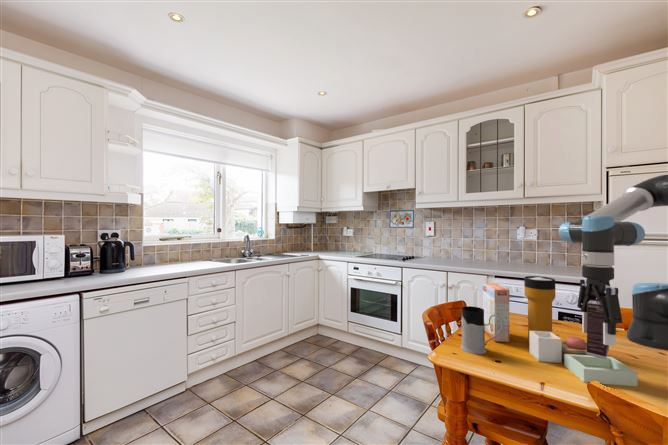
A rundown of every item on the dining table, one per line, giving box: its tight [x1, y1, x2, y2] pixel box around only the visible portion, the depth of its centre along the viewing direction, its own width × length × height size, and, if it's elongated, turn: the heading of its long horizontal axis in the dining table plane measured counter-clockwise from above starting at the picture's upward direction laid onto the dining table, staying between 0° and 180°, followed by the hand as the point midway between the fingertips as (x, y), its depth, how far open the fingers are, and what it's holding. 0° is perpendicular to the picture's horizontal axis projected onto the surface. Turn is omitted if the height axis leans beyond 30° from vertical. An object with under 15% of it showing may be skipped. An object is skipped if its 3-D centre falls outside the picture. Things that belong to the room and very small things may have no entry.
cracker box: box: [482, 282, 510, 343], centre depth 128 cm, size 14×6×21 cm, turn 171°
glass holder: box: [460, 305, 503, 355], centre depth 114 cm, size 9×14×15 cm, turn 67°
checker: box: [561, 340, 587, 364], centre depth 106 cm, size 12×10×4 cm
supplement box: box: [586, 298, 610, 359], centre depth 95 cm, size 9×5×16 cm, turn 135°
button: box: [566, 336, 586, 350], centre depth 106 cm, size 5×5×3 cm
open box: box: [528, 331, 563, 364], centre depth 107 cm, size 7×7×8 cm
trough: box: [563, 354, 638, 387], centre depth 95 cm, size 14×10×4 cm
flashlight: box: [523, 275, 556, 342], centre depth 119 cm, size 10×26×10 cm
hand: (598, 338), depth 95 cm, fingers closed on supplement box, 9 cm apart
